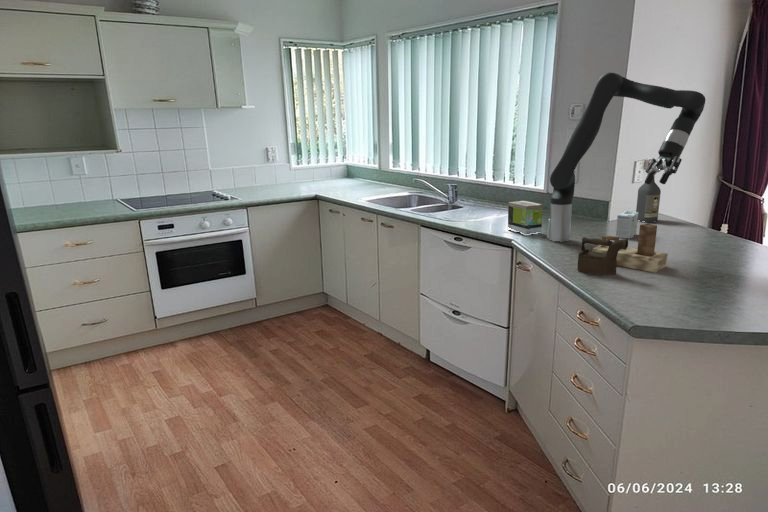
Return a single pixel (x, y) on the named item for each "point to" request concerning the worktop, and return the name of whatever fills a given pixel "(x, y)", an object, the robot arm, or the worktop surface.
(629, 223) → the light bulb box
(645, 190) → the liquor
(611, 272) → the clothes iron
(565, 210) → the robot arm
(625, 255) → the pine toolbox
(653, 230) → the walnut key
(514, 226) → the tea box
